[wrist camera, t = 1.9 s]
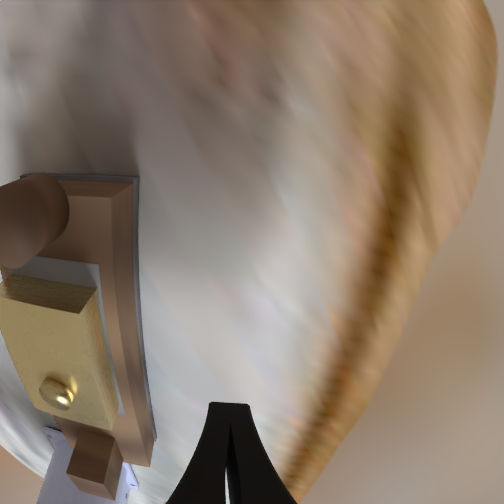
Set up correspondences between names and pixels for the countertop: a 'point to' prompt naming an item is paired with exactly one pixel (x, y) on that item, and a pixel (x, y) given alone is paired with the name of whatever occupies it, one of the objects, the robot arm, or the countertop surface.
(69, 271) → the body
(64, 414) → the lever cap
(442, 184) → the countertop surface
